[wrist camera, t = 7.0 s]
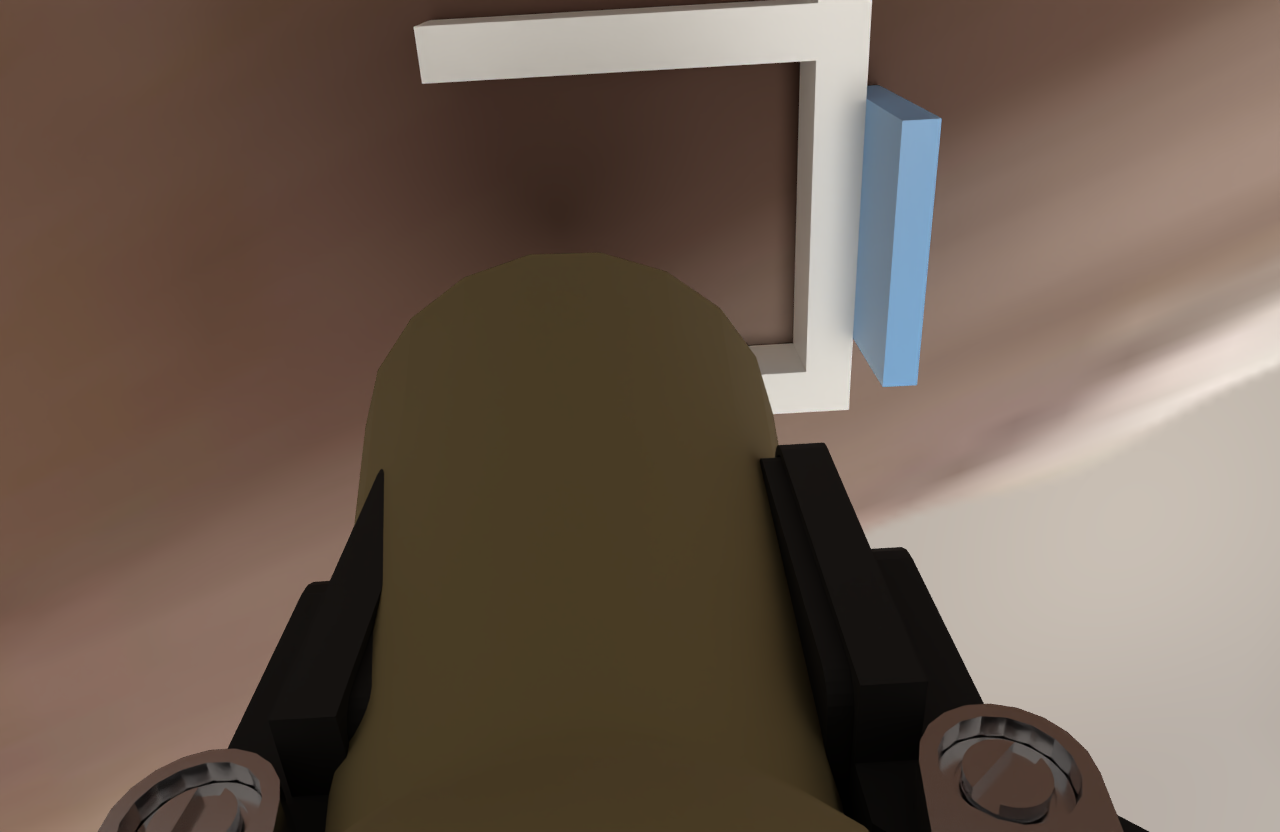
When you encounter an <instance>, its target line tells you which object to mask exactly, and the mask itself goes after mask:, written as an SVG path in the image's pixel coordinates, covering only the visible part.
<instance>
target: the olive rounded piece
mask: <svg viewBox="0 0 1280 832" xmlns="http://www.w3.org/2000/svg"><path fill="white" fill-rule="evenodd" d="M777 445H778V440H777V434H776V429H775V423H774V417H773V412H772V409H771V405H770V402H769V398H768V395H767V392H766V388H765V385H764V381H763V378H762V375H761V371H760V368H759V364H758V361H757V358H756V356H755V355H754V353H753V352H752V351H751V349H750V348H749V347H748V345H747V344H746V342H745V341H744V340H743V338H742V337H741V336H740V334H739V333H738V332H737V330H736V329H735V328H734V326H733V325H732V324H731V322H730V321H729V320H728V318H727V317H726V315H725V314H724V313H723V311H722V310H721V309H720V308H719V307H718V306H716V305H715V304H713V303H712V302H710V301H709V300H707V299H706V298H704V297H703V296H701V295H700V294H699V293H697V292H696V291H694V290H693V289H691V288H690V287H688V286H687V285H685V284H684V283H682V282H681V281H679V280H678V279H677V278H675V277H674V276H672V275H671V274H669V273H668V272H666V271H663V270H659V269H656V268H652V267H649V266H645V265H642V264H638V263H635V262H631V261H628V260H624V259H621V258H618V257H614V256H611V255H607V254H604V253H565V254H530V255H527V256H524V257H521V258H518V259H516V260H513V261H510V262H507V263H504V264H501V265H498V266H495V267H493V268H490V269H487V270H484V271H481V272H478V273H475V274H472V275H470V276H467V277H464V278H463V279H462V280H460V281H459V282H458V283H456V284H455V285H454V286H453V287H451V288H450V289H449V290H447V291H446V292H445V293H443V294H442V295H441V296H440V297H438V298H437V299H436V300H434V301H433V302H432V303H430V304H429V305H428V306H427V307H425V308H424V309H423V310H421V311H420V312H419V313H417V314H416V315H415V316H414V317H412V318H411V320H410V321H409V323H408V324H407V326H406V328H405V329H404V331H403V332H402V334H401V335H400V337H399V338H398V340H397V342H396V343H395V345H394V346H393V348H392V349H391V351H390V352H389V354H388V356H387V357H386V359H385V360H384V362H383V363H382V365H381V366H380V368H379V369H378V372H377V377H376V381H375V386H374V391H373V395H372V400H371V405H370V409H369V414H368V418H367V423H366V428H365V436H364V445H363V454H362V463H361V472H360V481H359V489H358V498H357V507H356V516H355V523H356V521H357V519H358V517H359V514H360V512H361V510H362V508H363V505H364V503H365V501H366V499H367V497H368V494H369V492H370V490H371V488H372V485H373V483H374V481H375V479H376V476H377V474H378V472H379V471H380V469H383V471H384V528H383V586H382V591H381V596H380V600H379V605H378V610H377V615H376V619H375V623H374V626H373V652H372V688H371V695H370V699H369V703H368V706H367V709H366V711H365V714H364V716H363V718H362V721H361V723H360V725H359V727H358V728H357V730H356V732H355V734H354V736H353V737H352V738H351V740H350V741H349V748H348V753H347V757H346V758H345V760H344V761H343V762H342V764H341V765H340V766H339V767H338V769H337V770H336V771H335V772H334V776H333V780H332V784H331V788H330V792H329V798H328V808H327V818H326V827H325V832H869V831H868V829H867V828H866V827H865V826H863V825H861V824H859V823H858V822H856V821H854V820H853V819H851V818H849V817H847V816H846V815H844V811H843V806H842V802H841V799H840V796H839V793H838V790H837V787H836V784H835V781H834V777H833V774H832V771H831V768H830V765H829V762H828V759H827V756H826V753H825V748H824V743H823V738H822V733H821V728H820V723H819V719H818V714H817V710H816V706H815V701H814V697H813V693H812V688H811V684H810V679H809V675H808V671H807V666H806V662H805V658H804V653H803V649H802V644H801V640H800V636H799V631H798V627H797V623H796V618H795V614H794V610H793V605H792V601H791V596H790V592H789V588H788V583H787V579H786V575H785V570H784V566H783V561H782V557H781V553H780V548H779V544H778V540H777V535H776V531H775V526H774V522H773V518H772V513H771V509H770V505H769V500H768V496H767V491H766V487H765V483H764V478H763V474H762V470H761V465H760V458H775V452H776V447H777ZM354 526H355V525H354Z"/></svg>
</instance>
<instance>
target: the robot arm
mask: <svg viewBox="0 0 1280 832" xmlns="http://www.w3.org/2000/svg"><path fill="white" fill-rule="evenodd" d="M760 465H761V470H762V474H763V478H764V483H765V487H766V491H767V496H768V500H769V505H770V509H771V513H772V518H773V522H774V526H775V531H776V535H777V540H778V544H779V548H780V553H781V557H782V561H783V566H784V570H785V575H786V579H787V583H788V588H789V592H790V596H791V601H792V605H793V610H794V614H795V618H796V623H797V627H798V631H799V636H800V640H801V644H802V649H803V653H804V658H805V662H806V666H807V671H808V675H809V679H810V684H811V688H812V693H813V697H814V701H815V706H816V710H817V714H818V719H819V723H820V728H821V733H822V738H823V743H824V748H825V753H826V756H827V759H828V762H829V765H830V768H831V771H832V774H833V777H834V781H835V784H836V787H837V790H838V793H839V796H840V799H841V802H842V806H843V811H844V815H846V816H847V817H849V818H851V819H853V820H854V821H856V822H858V823H859V824H861V825H863V826H865V827H866V828H867V829H868V831H869V832H1149V831H1147V830H1145V829H1143V828H1141V827H1139V826H1137V825H1135V824H1133V823H1131V822H1129V821H1128V820H1126V819H1124V818H1122V817H1120V816H1118V815H1117V814H1116V811H1115V809H1114V806H1113V804H1112V801H1111V798H1110V796H1109V793H1108V791H1107V788H1106V786H1105V783H1104V781H1103V778H1102V776H1101V773H1100V771H1099V770H1098V768H1097V766H1096V765H1095V763H1094V761H1093V759H1092V758H1091V756H1090V754H1089V753H1088V751H1087V750H1086V749H1085V748H1084V747H1083V746H1082V745H1081V744H1080V743H1079V742H1077V741H1076V740H1075V739H1074V738H1073V737H1072V736H1071V735H1070V734H1069V733H1068V732H1067V731H1065V730H1063V729H1062V728H1060V727H1058V726H1057V725H1055V724H1053V723H1052V722H1050V721H1048V720H1047V719H1045V718H1043V717H1041V716H1038V715H1035V714H1033V713H1030V712H1027V711H1024V710H1022V709H1019V708H1015V707H1007V706H1002V705H995V704H984V703H983V701H982V699H981V697H980V695H979V693H978V691H977V689H976V687H975V685H974V683H973V681H972V679H971V677H970V675H969V673H968V671H967V669H966V667H965V665H964V663H963V661H962V658H961V657H960V654H959V652H958V650H957V648H956V646H955V644H954V642H953V640H952V638H951V636H950V634H949V632H948V630H947V628H946V626H945V624H944V622H943V620H942V618H941V616H940V614H939V612H938V610H937V608H936V606H935V604H934V602H933V600H932V598H931V595H930V594H929V591H928V589H927V587H926V585H925V584H924V581H923V579H922V577H921V575H920V573H919V571H918V569H917V567H916V565H915V563H914V561H913V559H912V557H911V556H910V554H909V553H908V551H907V550H906V549H904V548H902V547H897V548H879V549H871V548H870V546H869V544H868V541H867V539H866V537H865V534H864V532H863V530H862V527H861V525H860V523H859V520H858V518H857V516H856V513H855V511H854V509H853V506H852V504H851V502H850V499H849V497H848V495H847V492H846V490H845V488H844V485H843V483H842V481H841V478H840V476H839V474H838V472H837V469H836V467H835V465H834V462H833V460H832V458H831V455H830V453H829V451H828V448H827V446H826V445H825V443H809V444H792V445H777V447H776V452H775V458H760ZM383 528H384V471H383V469H380V471H379V472H378V474H377V476H376V479H375V481H374V483H373V485H372V488H371V490H370V492H369V494H368V497H367V499H366V501H365V503H364V505H363V508H362V510H361V512H360V514H359V517H358V519H357V521H356V523H355V526H354V528H353V530H352V532H351V535H350V537H349V539H348V541H347V544H346V546H345V548H344V550H343V553H342V555H341V557H340V559H339V562H338V564H337V566H336V568H335V571H334V573H333V575H332V577H331V580H330V581H321V582H313V583H311V584H309V585H308V586H307V587H306V588H305V590H304V591H303V593H302V595H301V597H300V599H299V601H298V603H297V605H296V607H295V609H294V611H293V613H292V616H291V618H290V620H289V622H288V624H287V626H286V628H285V630H284V632H283V634H282V636H281V638H280V641H279V643H278V645H277V647H276V649H275V651H274V653H273V655H272V657H271V659H270V661H269V663H268V666H267V668H266V670H265V672H264V674H263V676H262V678H261V680H260V682H259V684H258V686H257V689H256V691H255V693H254V695H253V697H252V699H251V701H250V703H249V705H248V707H247V709H246V711H245V714H244V716H243V718H242V720H241V722H240V724H239V726H238V728H237V730H236V732H235V734H234V736H233V739H232V741H231V743H230V745H229V747H228V749H218V750H208V751H204V752H201V753H197V754H193V755H190V756H186V757H183V758H180V759H178V760H176V761H174V762H172V763H170V764H168V765H166V766H164V767H162V768H160V769H158V770H156V771H154V772H153V773H151V774H150V775H149V776H147V777H146V778H144V779H143V780H142V781H140V782H139V783H137V784H136V785H135V786H133V787H132V788H131V789H130V790H129V791H128V792H127V793H126V794H125V795H124V796H123V797H122V798H121V799H120V800H119V801H118V802H117V803H116V804H115V805H114V806H113V808H112V809H111V810H110V812H109V813H108V815H107V817H106V819H105V820H104V822H103V824H102V825H101V827H100V829H99V830H98V832H325V827H326V818H327V808H328V798H329V792H330V788H331V784H332V780H333V776H334V772H335V771H336V770H337V769H338V767H339V766H340V765H341V764H342V762H343V761H344V760H345V758H346V757H347V753H348V748H349V741H350V740H351V738H352V737H353V736H354V734H355V732H356V730H357V728H358V727H359V725H360V723H361V721H362V718H363V716H364V714H365V711H366V709H367V706H368V703H369V699H370V695H371V688H372V652H373V626H374V623H375V619H376V615H377V610H378V605H379V600H380V596H381V591H382V586H383Z"/></svg>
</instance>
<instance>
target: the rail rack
mask: <svg viewBox="0 0 1280 832" xmlns="http://www.w3.org/2000/svg"><path fill="white" fill-rule="evenodd" d="M871 10H872V0H765V1H748V2H731V3H714V4H697V5H680V6H663V7H646V8H629V9H612V10H595V11H578V12H561V13H544V14H527V15H510V16H493V17H476V18H459V19H442V20H429V21H426V22H424V23H422V24H419V25H417V26H414V33H415V40H416V47H417V53H418V60H419V66H420V73H421V80H422V84H426V83H443V82H460V81H477V80H494V79H511V78H528V77H545V76H562V75H579V74H596V73H613V72H630V71H647V70H664V69H681V68H698V67H716V66H733V65H750V64H767V63H784V62H800V86H799V126H798V166H797V206H796V246H795V285H794V325H793V343H788V344H771V345H754V346H748V347H749V348H750V349H751V351H752V352H753V353H754V355H755V356H756V358H757V361H758V364H759V368H760V371H761V375H762V378H763V381H764V385H765V388H766V392H767V395H768V398H769V402H770V405H771V409H772V412H773V414H783V413H800V412H817V411H834V410H849V397H850V379H851V362H852V344H853V339H854V341H855V342H856V344H857V346H858V347H859V349H860V351H861V352H862V354H863V356H864V357H865V359H866V361H867V362H868V364H869V365H870V367H871V369H872V370H873V372H874V374H875V375H876V377H877V379H878V380H879V382H880V384H881V385H882V387H891V386H908V385H917V378H918V368H919V357H920V346H921V335H922V325H923V314H924V303H925V293H926V282H927V271H928V260H929V250H930V239H931V228H932V217H933V207H934V196H935V185H936V174H937V164H938V153H939V142H940V132H941V121H942V118H940V117H938V116H936V115H934V114H932V113H930V112H929V111H927V110H925V109H923V108H921V107H919V106H917V105H915V104H914V103H912V102H910V101H908V100H906V99H904V98H902V97H900V96H898V95H897V94H895V93H893V92H891V91H889V90H887V89H885V88H883V87H882V86H880V85H871V86H867V80H868V63H869V45H870V27H871Z"/></svg>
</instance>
